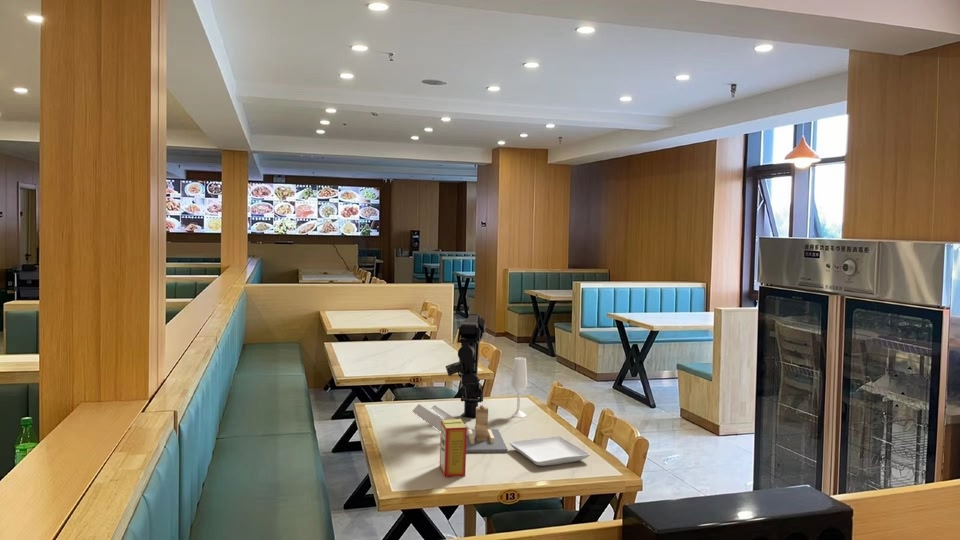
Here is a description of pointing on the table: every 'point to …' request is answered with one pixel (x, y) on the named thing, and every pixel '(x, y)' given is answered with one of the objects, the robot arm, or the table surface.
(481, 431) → the wooden board
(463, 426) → the baking soda box
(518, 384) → the champagne flute
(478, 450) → the groove board
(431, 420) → the crown molding
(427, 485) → the table surface
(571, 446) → the salad plate
